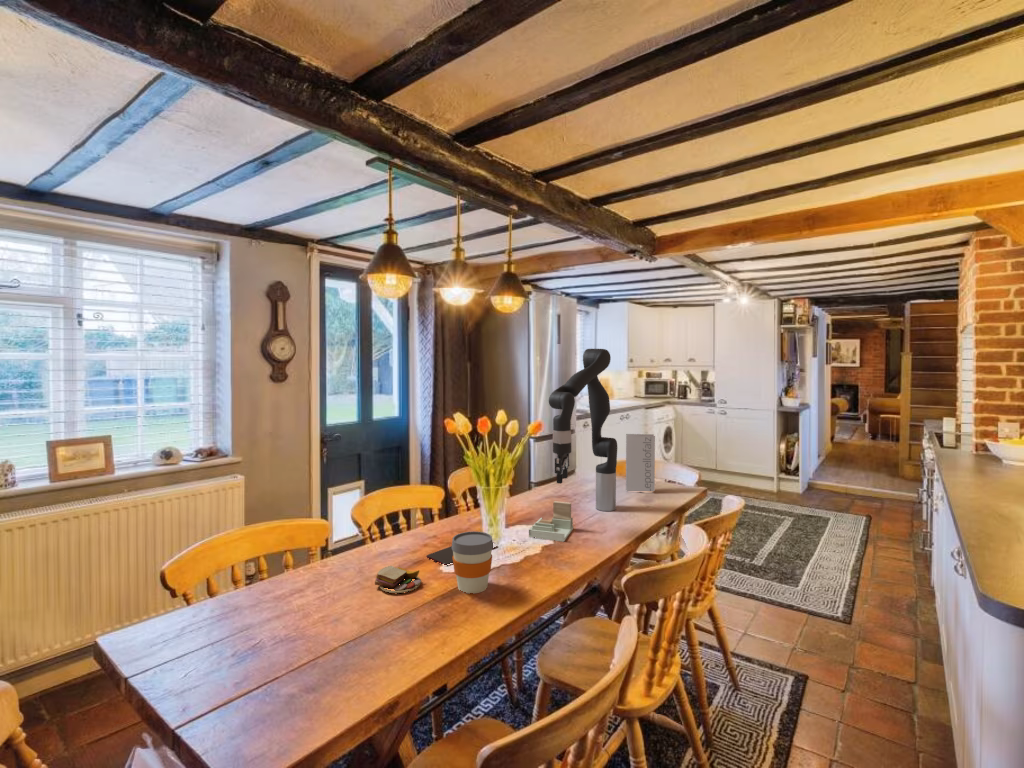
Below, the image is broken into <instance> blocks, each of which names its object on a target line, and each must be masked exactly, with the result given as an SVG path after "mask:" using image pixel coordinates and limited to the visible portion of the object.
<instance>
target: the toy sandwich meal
mask: <svg viewBox="0 0 1024 768" xmlns="http://www.w3.org/2000/svg"><path fill="white" fill-rule="evenodd" d="M419 573H420V570H419V569H418V570H414V571H411V570H407V569H405V568H402V567H400V566H398V567H394V566H393V565H388V566H385V567H383V568H381V569H379V570H378V572H377V575H376V577H375V580H374V585H375V586H379V589H381V590H382V591H383V592H384V591H385V592H384V593H386V592H389V593H404V592H408V591H411V590H413V591H415V590H416V589H418V588H419V587H420V585H421V584H422V579H421V578H420V577H419V576H418V575H419ZM404 579H405V580H404ZM412 579H415V580H414V581H412ZM411 581H412V582H411ZM399 584H400V585H399ZM384 588H388V589H394V590H395V591H391V590H387V589H384ZM414 589H415V590H414ZM411 592H412V591H411ZM389 593H388V594H389ZM408 593H409V592H408ZM404 594H405V593H404Z"/></svg>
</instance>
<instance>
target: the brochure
mask: <svg viewBox="0 0 1024 768" xmlns="http://www.w3.org/2000/svg"><path fill="white" fill-rule="evenodd" d="M655 460H656V435H655V434H649V433H648V434H647V433H646V434H645V433H642V434H641V433H626V435H625V491H656V490H655V484H656V483H655V482H656V481H655V478H656V475H655V472H656V471H655V470H656V468H655V467H656V461H655Z"/></svg>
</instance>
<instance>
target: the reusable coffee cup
mask: <svg viewBox="0 0 1024 768" xmlns="http://www.w3.org/2000/svg"><path fill="white" fill-rule="evenodd" d="M493 543H494V541H493V536H492V535H491V534H490V533H488V532H484V531H473V530H472V531H465V532H460V533H458V534H455V535H454V536H453V537H452V540H451V546H452V550H453V564H452V565H453V570H454V574H455V575H456V582H457V589H458V590H459V591H460V590H461V591H463V592H462V593H464V592H466V593H465V594H470V593H473V594H478V593H482V592H484V591H485V589H486V588H487V589H488V585H489V576H490V573H491V570H492V562H493V554H492V550H493V549H492V548H493ZM487 589H486V590H487ZM461 591H460V592H461Z"/></svg>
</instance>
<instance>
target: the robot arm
mask: <svg viewBox="0 0 1024 768" xmlns="http://www.w3.org/2000/svg"><path fill="white" fill-rule="evenodd" d="M610 353H611V352H610V351H609V350H608V349H606V348H586V349H585V350H584V352H583V355H582V365H583V369H581V370H579V371H577V372H576V373H574V374H572V376H571V377H570V378H569V379H568V380H567V381H566V382H565V383H564V384H563V385H561V386H559V387H557V388H556V389H554V390H553V391H552V392H551V393H550V395H549V398H548V405H549V406H550V407H551V408H552V409H555V410H561V413H560V414H559V415H557V414H556V415H554V417H553V419H552V421H553V424H552V428H553V430H552V453H553V454H556V455H557V456H556V457H555V458H554V474H556V484H562V483H563V479H568V475H569V474H568V473H569V472H568V470H569V467H570V454H571V453H572V432H571V431H572V430H571V427H572V426H571V425H572V424H571V423H572V422H571V421H572V416H573V411H574V408H575V403H576V400H575V398H576V397H577V396H579V394H581V392H582V391H583V390H584V389H585V387H586V386H587V393H588V394H587V396H588V407H589V414H590V422H591V423H590V424H591V425H590V426H591V450H592V453H593V455H594V456H595V457H598V458H606V461H605V462H603V463H599V464H596V466H595V509H596V510H598V511H603V512H614V511H615V510H617V464H618V441H617V439H616V438H614V437H609V436H607V437H605V436H602V429H603V425H604V423H605V421H607V419H608V417H609V415H610V412H611V404H610V397H609V393H608V392H607V390H606V389H605V387H604V386H603V384H602V383H601V381H600V379H599V377H598V376H599V375H600V374H601V373H603V372H604V371H605V370H607V368H608V367H609V366H610V364H611V354H610Z"/></svg>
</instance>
